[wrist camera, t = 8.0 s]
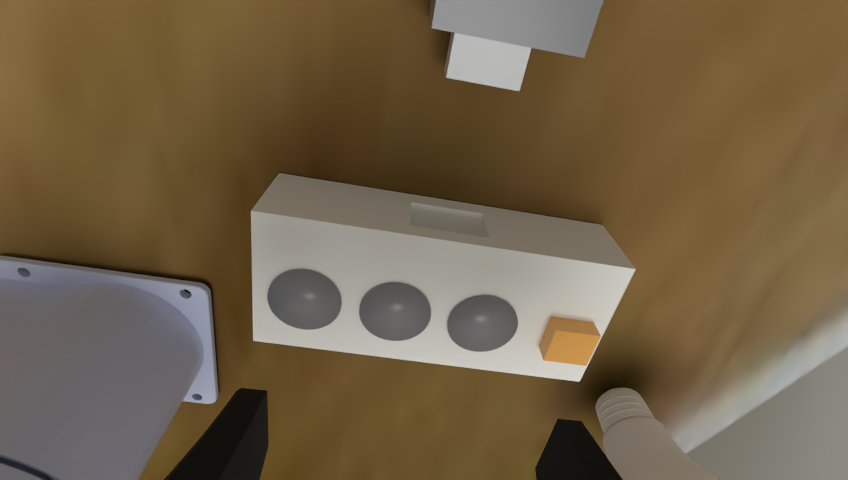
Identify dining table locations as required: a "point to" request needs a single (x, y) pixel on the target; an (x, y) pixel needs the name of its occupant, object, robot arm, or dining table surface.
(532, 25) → the block
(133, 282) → the robot arm
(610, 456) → the lightbulb
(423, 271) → the power strip
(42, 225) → the dining table surface
